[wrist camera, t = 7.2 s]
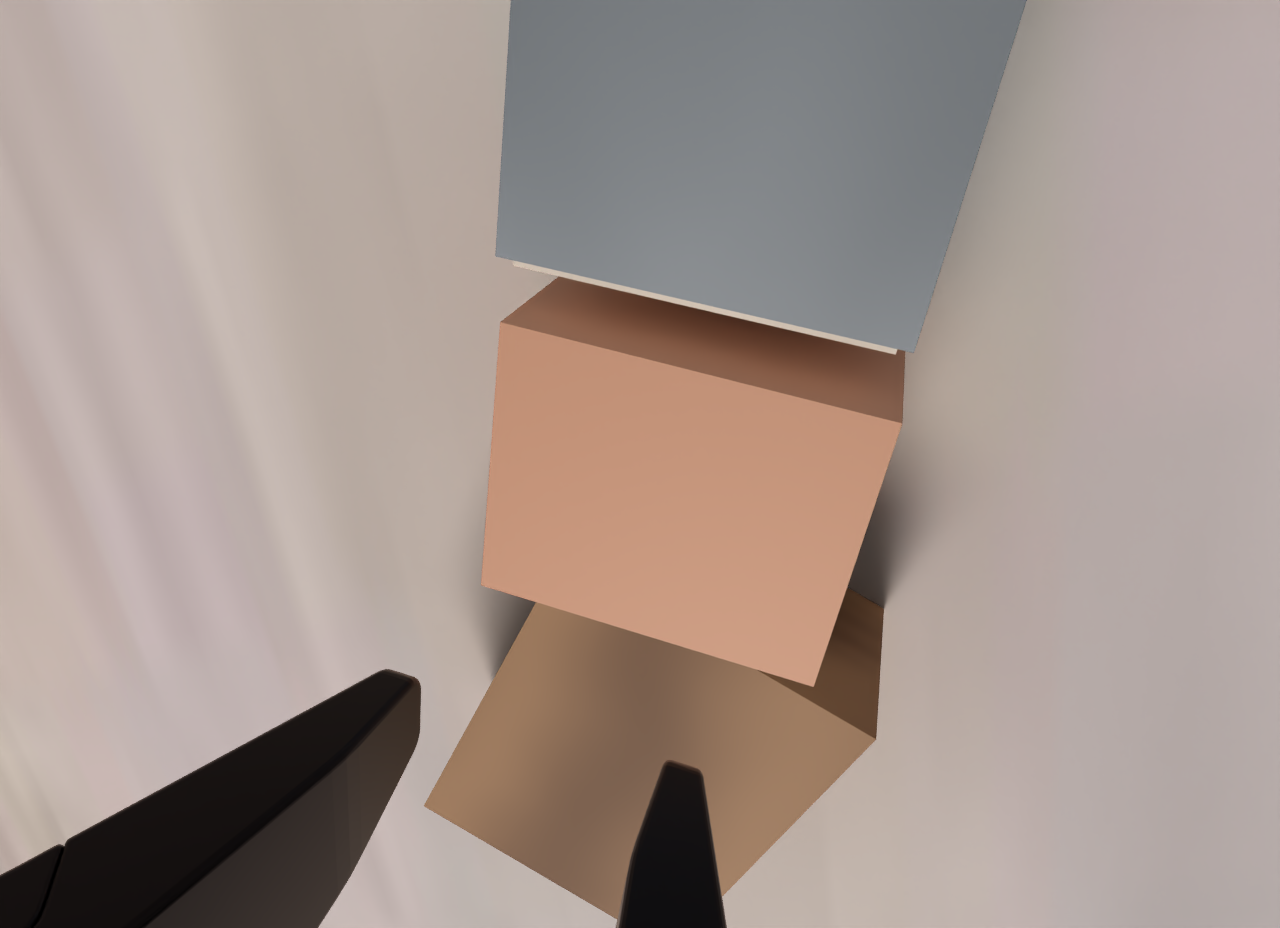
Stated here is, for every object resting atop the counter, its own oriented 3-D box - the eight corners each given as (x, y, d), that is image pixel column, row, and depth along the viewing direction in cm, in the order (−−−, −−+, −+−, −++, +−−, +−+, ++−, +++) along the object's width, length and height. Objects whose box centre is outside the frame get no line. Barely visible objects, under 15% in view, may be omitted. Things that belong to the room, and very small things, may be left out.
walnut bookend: (884, 602, 21) (875, 739, 17) (707, 807, 26) (669, 949, 22) (627, 453, 21) (561, 555, 17) (498, 684, 26) (423, 806, 22)
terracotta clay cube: (907, 297, 17) (902, 423, 12) (839, 514, 20) (811, 693, 15) (617, 230, 18) (499, 321, 13) (587, 446, 21) (480, 592, 16)
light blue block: (1006, -58, 14) (1053, -87, 9) (913, 253, 17) (910, 362, 12) (653, -110, 15) (520, -164, 10) (615, 189, 18) (495, 265, 13)
